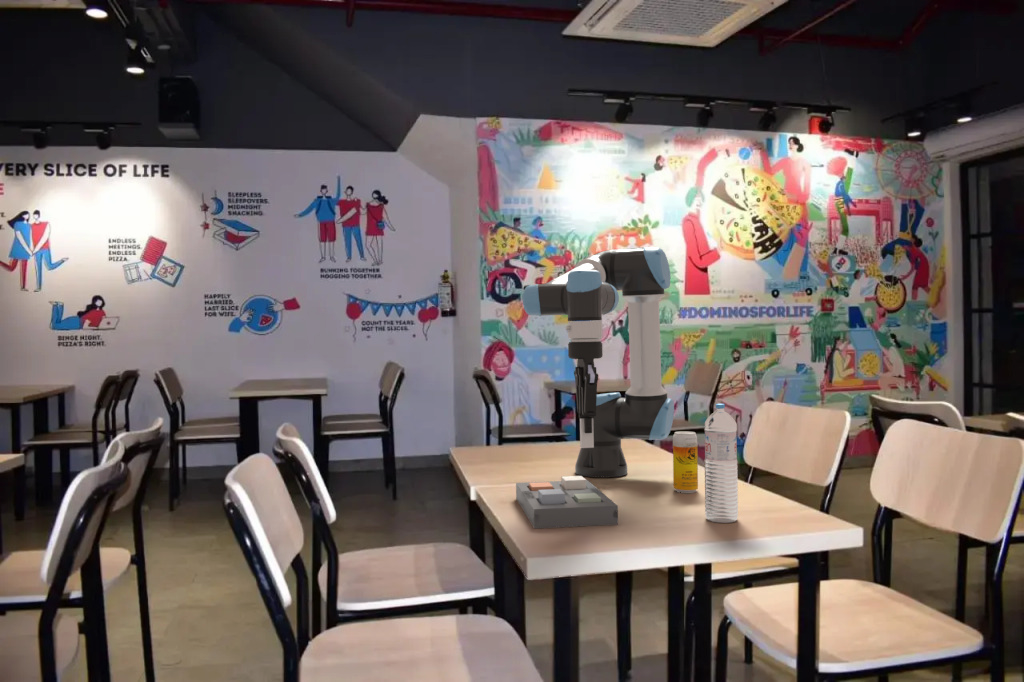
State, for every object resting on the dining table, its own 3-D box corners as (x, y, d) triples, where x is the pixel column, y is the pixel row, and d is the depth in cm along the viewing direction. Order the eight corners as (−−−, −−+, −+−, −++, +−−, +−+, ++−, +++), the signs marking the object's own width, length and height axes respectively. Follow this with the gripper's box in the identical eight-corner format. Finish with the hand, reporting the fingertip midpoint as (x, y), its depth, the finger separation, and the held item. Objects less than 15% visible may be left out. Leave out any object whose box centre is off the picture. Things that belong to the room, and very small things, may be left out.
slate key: (560, 502, 161) (560, 488, 161) (565, 507, 156) (564, 493, 156) (538, 503, 161) (538, 489, 161) (542, 508, 156) (542, 494, 156)
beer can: (684, 494, 181) (683, 434, 181) (668, 490, 186) (667, 432, 186) (703, 491, 184) (702, 433, 184) (686, 487, 189) (686, 430, 189)
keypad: (587, 496, 181) (587, 480, 181) (618, 524, 153) (617, 505, 153) (516, 498, 179) (516, 482, 179) (534, 528, 151) (534, 509, 151)
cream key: (581, 488, 176) (581, 475, 176) (586, 492, 171) (586, 479, 171) (561, 488, 175) (561, 476, 175) (565, 493, 170) (565, 480, 170)
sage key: (595, 506, 162) (595, 493, 162) (601, 511, 157) (601, 497, 157) (573, 507, 162) (573, 493, 162) (578, 512, 157) (578, 498, 157)
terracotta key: (549, 494, 175) (549, 482, 175) (553, 499, 170) (552, 486, 170) (528, 495, 174) (528, 482, 174) (532, 499, 169) (532, 487, 169)
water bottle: (733, 525, 151) (731, 406, 151) (701, 521, 155) (699, 404, 155) (741, 518, 157) (740, 403, 157) (710, 514, 161) (709, 402, 161)
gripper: (562, 340, 165) (564, 443, 166) (574, 341, 152) (576, 453, 153) (594, 339, 166) (596, 441, 167) (609, 340, 153) (611, 451, 154)
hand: (587, 447), depth 160 cm, fingers closed
